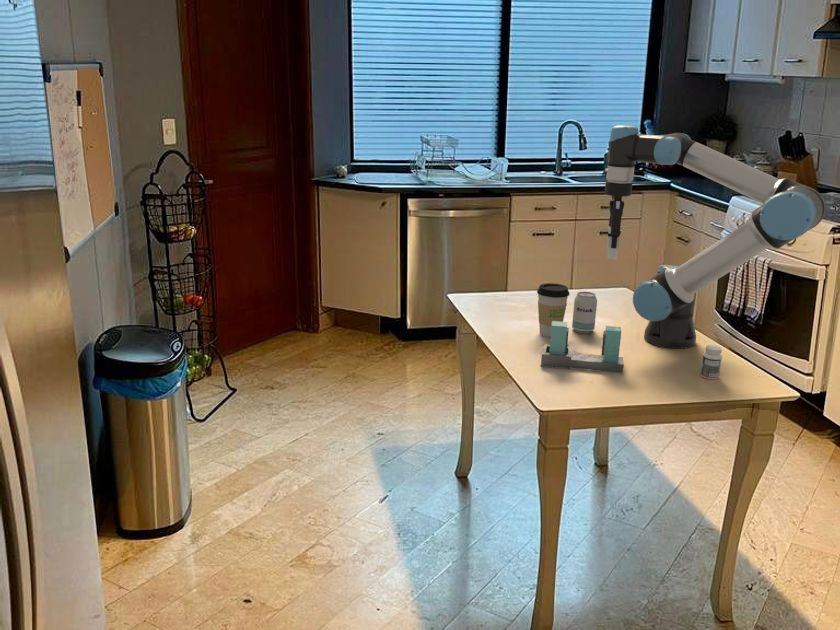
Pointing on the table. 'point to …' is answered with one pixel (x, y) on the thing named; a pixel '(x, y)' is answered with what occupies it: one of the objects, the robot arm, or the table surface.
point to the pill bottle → (711, 362)
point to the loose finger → (559, 338)
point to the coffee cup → (551, 305)
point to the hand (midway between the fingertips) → (611, 253)
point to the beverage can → (584, 312)
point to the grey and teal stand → (589, 355)
